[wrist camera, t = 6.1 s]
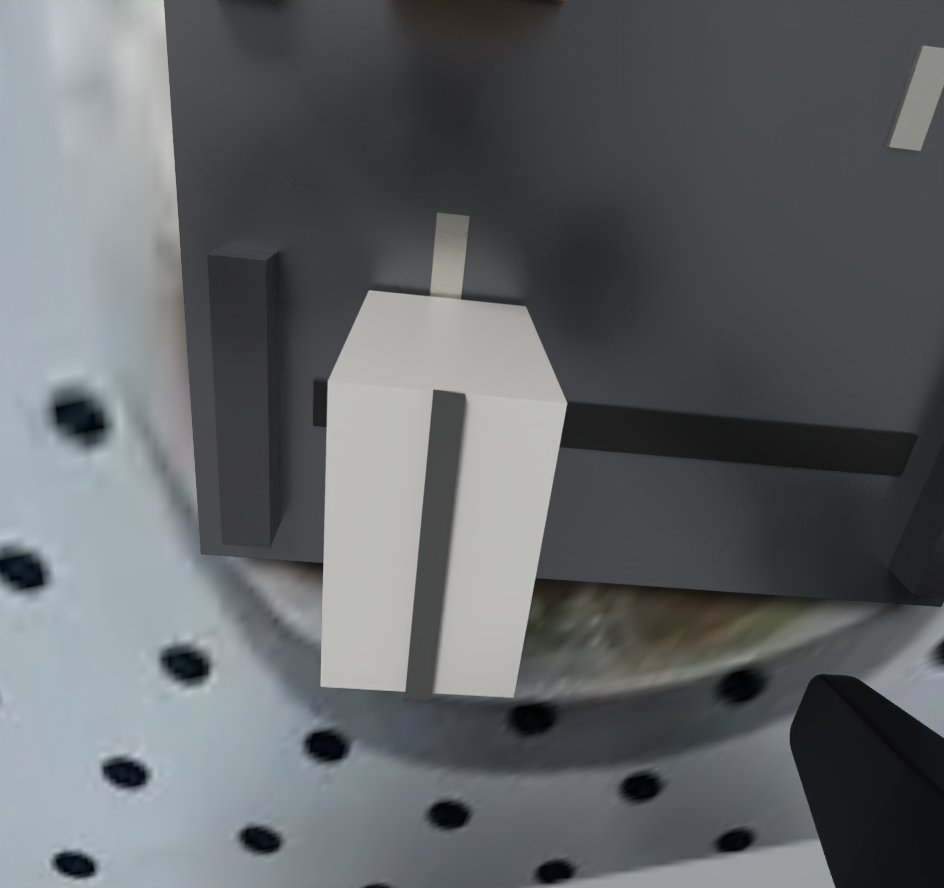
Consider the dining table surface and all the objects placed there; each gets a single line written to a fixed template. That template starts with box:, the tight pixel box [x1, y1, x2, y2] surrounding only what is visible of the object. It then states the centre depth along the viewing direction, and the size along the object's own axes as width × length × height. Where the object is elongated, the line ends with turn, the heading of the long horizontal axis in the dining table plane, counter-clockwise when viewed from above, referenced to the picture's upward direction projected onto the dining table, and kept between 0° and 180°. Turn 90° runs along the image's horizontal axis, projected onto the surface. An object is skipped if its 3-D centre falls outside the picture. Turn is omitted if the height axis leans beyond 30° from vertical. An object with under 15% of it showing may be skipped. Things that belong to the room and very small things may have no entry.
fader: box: [321, 290, 567, 700], centre depth 12 cm, size 5×3×5 cm, turn 174°
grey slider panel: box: [164, 0, 944, 607], centre depth 13 cm, size 18×18×2 cm
